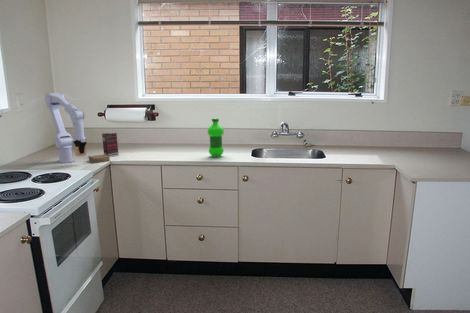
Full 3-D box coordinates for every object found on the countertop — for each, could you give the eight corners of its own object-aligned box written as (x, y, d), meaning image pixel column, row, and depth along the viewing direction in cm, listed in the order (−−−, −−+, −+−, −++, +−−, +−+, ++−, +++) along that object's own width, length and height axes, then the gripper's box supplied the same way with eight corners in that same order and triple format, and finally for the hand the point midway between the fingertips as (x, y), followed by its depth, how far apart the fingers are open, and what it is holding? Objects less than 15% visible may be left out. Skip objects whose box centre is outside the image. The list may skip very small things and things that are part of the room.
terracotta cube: (75, 155, 238) (74, 147, 237) (83, 154, 241) (83, 146, 240) (77, 156, 234) (77, 148, 233) (86, 155, 237) (85, 147, 236)
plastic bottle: (206, 157, 254) (204, 119, 249) (212, 154, 264) (211, 117, 259) (220, 158, 251) (219, 119, 246) (226, 155, 260) (225, 118, 256)
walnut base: (88, 160, 250) (88, 156, 249) (104, 158, 256) (104, 154, 255) (93, 163, 242) (93, 158, 241) (109, 161, 248) (109, 156, 247)
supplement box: (115, 154, 270) (113, 132, 267) (118, 155, 267) (116, 132, 264) (103, 156, 264) (101, 133, 261) (106, 157, 261) (104, 133, 258)
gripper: (89, 131, 231) (91, 153, 234) (81, 129, 243) (83, 150, 245) (76, 132, 227) (78, 154, 230) (70, 130, 239) (72, 151, 241)
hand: (80, 152), depth 237 cm, fingers closed on terracotta cube, 5 cm apart
